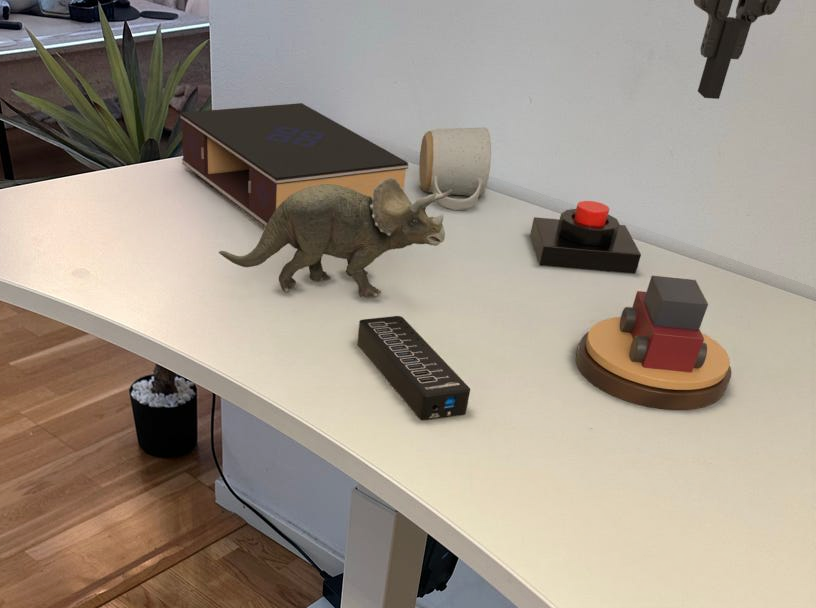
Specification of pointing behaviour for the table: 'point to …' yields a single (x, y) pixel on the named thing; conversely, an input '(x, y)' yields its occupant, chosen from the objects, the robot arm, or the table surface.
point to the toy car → (661, 339)
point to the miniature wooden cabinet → (280, 155)
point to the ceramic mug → (455, 164)
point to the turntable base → (643, 392)
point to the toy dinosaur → (344, 230)
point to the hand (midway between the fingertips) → (708, 94)
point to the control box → (584, 244)
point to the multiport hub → (413, 368)
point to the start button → (591, 213)
